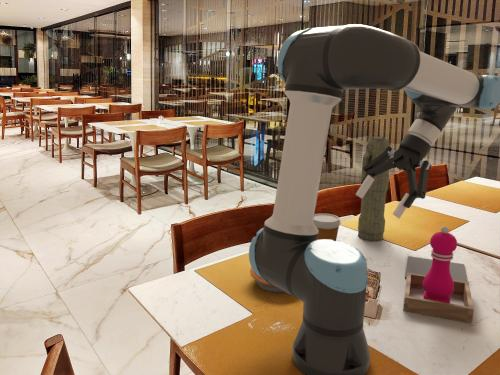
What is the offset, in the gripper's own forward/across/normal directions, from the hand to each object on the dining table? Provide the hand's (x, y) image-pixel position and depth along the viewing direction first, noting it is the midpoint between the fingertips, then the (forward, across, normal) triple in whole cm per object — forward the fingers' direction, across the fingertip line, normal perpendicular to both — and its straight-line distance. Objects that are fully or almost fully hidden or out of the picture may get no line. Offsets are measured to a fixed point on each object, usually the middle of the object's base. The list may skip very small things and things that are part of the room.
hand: (376, 206), depth 122 cm
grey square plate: (+6, -11, -25) cm, 28 cm away
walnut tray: (+13, -22, -11) cm, 28 cm away
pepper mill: (+13, -22, -11) cm, 28 cm away
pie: (+32, +6, +9) cm, 34 cm away
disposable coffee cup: (+20, +15, -12) cm, 28 cm away
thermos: (+8, +18, -32) cm, 38 cm away
